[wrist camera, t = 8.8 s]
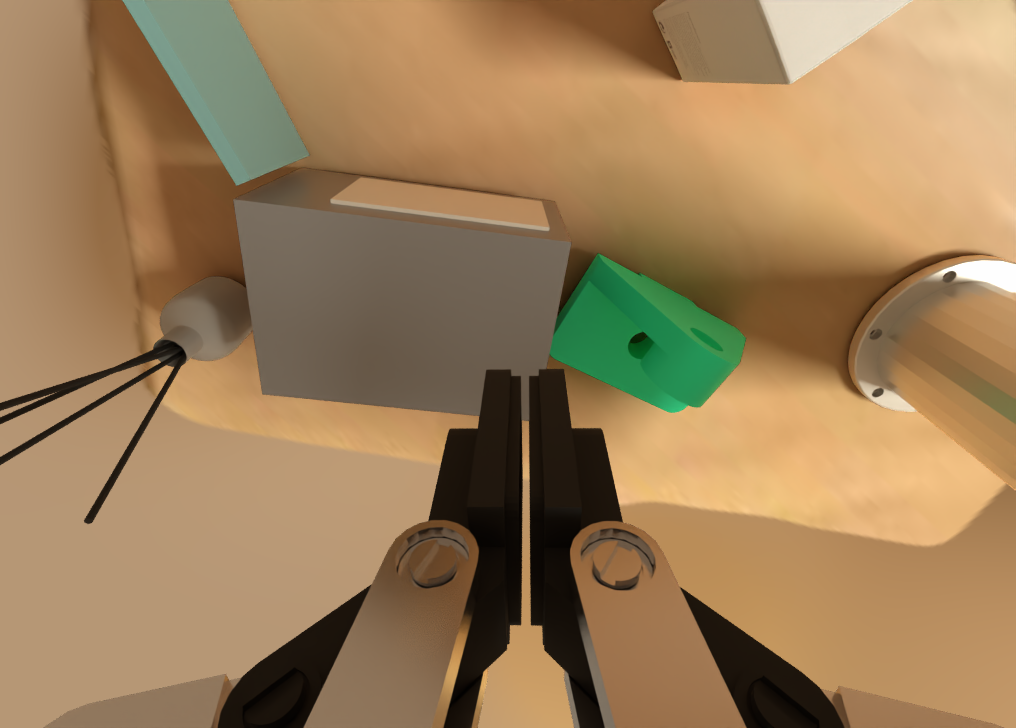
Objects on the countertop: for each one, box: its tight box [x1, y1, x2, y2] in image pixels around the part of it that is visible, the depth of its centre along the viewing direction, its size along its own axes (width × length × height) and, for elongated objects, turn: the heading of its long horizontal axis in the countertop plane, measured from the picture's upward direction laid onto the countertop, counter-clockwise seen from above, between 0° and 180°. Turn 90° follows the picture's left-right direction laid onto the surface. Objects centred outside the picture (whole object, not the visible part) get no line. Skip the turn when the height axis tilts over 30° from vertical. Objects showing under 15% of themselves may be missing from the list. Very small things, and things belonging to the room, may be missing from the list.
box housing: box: [233, 168, 572, 421], centre depth 30 cm, size 16×11×9 cm
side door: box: [122, 0, 310, 186], centre depth 23 cm, size 13×1×8 cm, turn 20°
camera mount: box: [550, 253, 746, 413], centre depth 32 cm, size 12×8×10 cm, turn 62°
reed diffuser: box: [0, 276, 253, 524], centre depth 26 cm, size 10×7×20 cm
